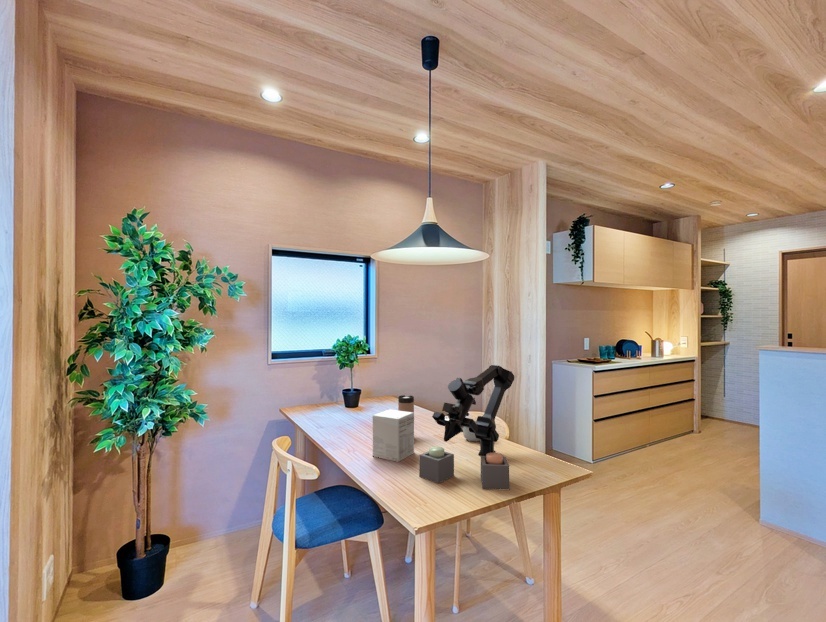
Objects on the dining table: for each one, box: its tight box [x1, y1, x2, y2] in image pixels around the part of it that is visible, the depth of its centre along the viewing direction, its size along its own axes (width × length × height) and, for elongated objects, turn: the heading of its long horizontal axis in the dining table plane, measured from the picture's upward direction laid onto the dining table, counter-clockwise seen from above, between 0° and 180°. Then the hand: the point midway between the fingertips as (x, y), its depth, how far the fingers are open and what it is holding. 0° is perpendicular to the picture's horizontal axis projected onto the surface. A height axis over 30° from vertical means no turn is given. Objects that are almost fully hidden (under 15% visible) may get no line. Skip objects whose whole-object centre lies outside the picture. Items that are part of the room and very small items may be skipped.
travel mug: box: [397, 394, 415, 413], centre depth 197 cm, size 8×8×20 cm
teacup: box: [462, 419, 480, 442], centre depth 196 cm, size 14×11×8 cm
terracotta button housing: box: [480, 455, 510, 490], centre depth 143 cm, size 9×9×8 cm
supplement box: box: [372, 409, 415, 463], centre depth 174 cm, size 13×13×18 cm
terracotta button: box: [486, 452, 504, 465], centre depth 143 cm, size 6×6×3 cm
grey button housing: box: [418, 450, 455, 484], centre depth 150 cm, size 9×9×8 cm
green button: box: [428, 446, 445, 459], centre depth 150 cm, size 6×6×3 cm
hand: (445, 440), depth 153 cm, fingers closed
